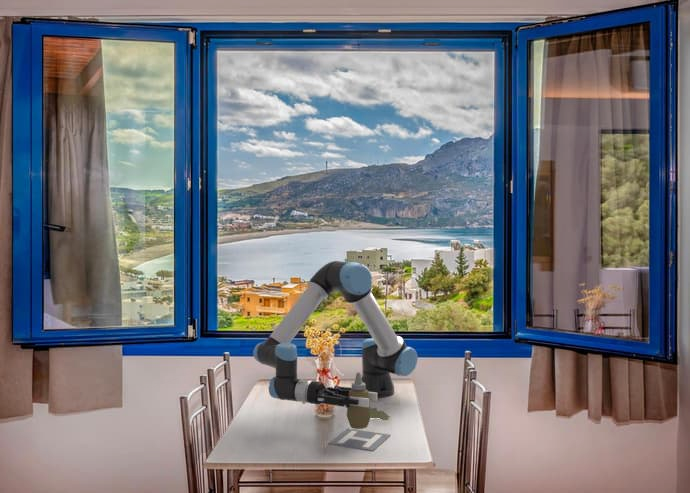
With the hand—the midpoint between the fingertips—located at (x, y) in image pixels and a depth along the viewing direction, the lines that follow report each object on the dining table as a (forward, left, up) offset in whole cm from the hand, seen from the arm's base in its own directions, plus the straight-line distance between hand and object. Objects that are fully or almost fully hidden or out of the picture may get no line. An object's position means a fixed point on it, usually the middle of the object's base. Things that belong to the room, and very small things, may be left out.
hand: (372, 399), depth 197 cm
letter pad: (0, -5, -14) cm, 15 cm away
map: (-23, -8, -15) cm, 28 cm away
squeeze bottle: (0, -5, -10) cm, 11 cm away
